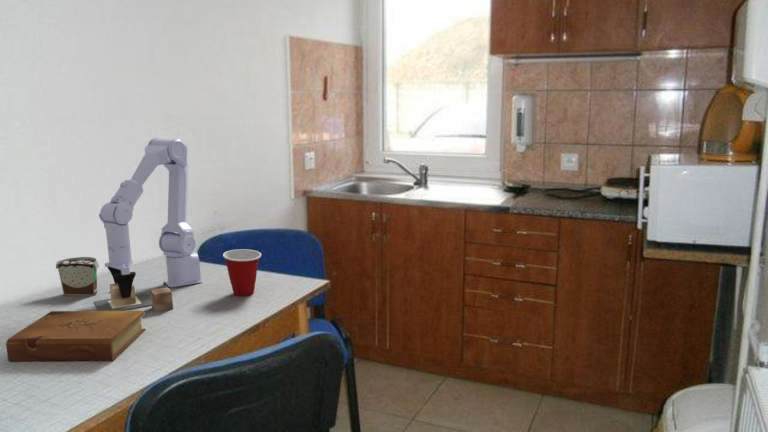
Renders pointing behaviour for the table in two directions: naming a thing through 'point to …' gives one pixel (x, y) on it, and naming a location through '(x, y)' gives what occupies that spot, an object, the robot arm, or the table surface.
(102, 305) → the gray rectangular panel
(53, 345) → the diary
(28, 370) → the table surface
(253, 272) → the plastic cup
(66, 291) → the food container
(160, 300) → the walnut block
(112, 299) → the oak block
